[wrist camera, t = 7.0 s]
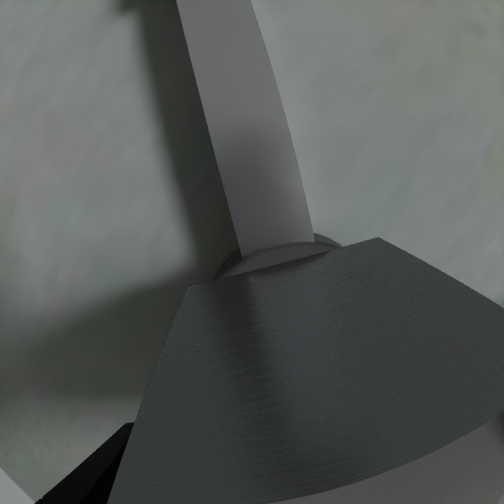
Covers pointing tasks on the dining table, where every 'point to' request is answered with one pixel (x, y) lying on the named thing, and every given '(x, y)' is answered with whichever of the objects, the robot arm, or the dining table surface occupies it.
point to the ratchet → (249, 136)
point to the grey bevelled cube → (324, 389)
